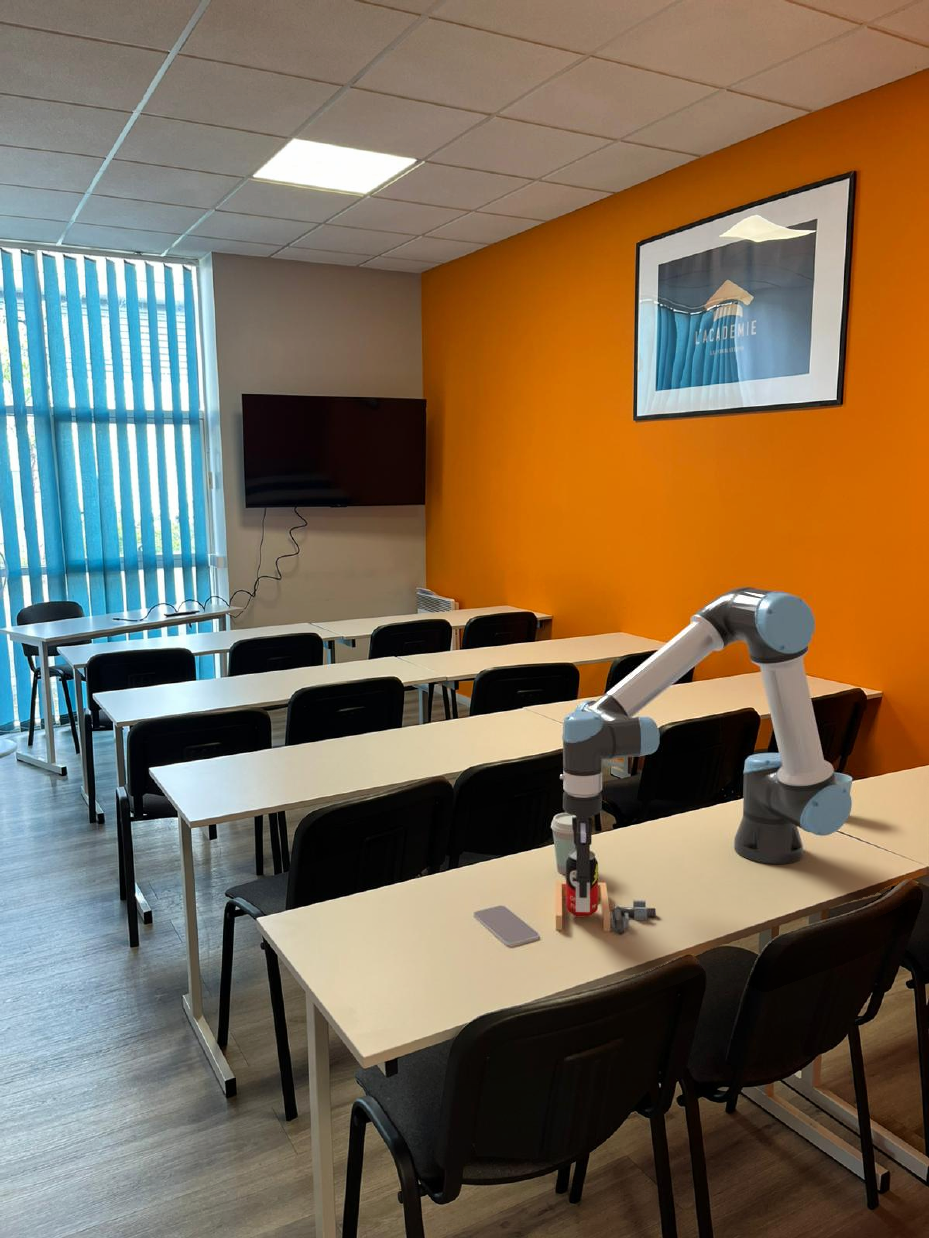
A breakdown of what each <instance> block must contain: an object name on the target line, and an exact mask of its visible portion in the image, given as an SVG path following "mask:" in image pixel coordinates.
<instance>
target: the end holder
mask: <svg viewBox="0 0 929 1238" xmlns="http://www.w3.org/2000/svg"><path fill="white" fill-rule="evenodd" d="M607 889H608V888H607V882H599V881H598V900H599V899H600V900H599V901H600V908H601V909H600V910H601V918H602V927H603V932H606V933H610V932H611V930H610V912H611V911H610V906H609V905H610V904H609V895H608V890H607ZM564 898H565V899H566V881H564V880H563V881H560V880H559V881H555V930H556V931H562V930H563V899H564Z"/></svg>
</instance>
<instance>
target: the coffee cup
mask: <svg viewBox="0 0 929 1238" xmlns="http://www.w3.org/2000/svg"><path fill="white" fill-rule="evenodd" d="M572 817H575V815H570V814H568V813H566V812H561V813H557V814H555V815H554V816H553V819H552V821H551V825H550V828H551V829H552V837H553V843H554V853H555V862H556V870H557V872H559V873H560V874H563V875H566V861H567V859H568V857H569V853H570V852H571V851H573V850H575V844H574V835H573V829H572Z"/></svg>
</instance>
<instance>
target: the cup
mask: <svg viewBox="0 0 929 1238" xmlns="http://www.w3.org/2000/svg"><path fill="white" fill-rule="evenodd" d="M834 774H835V778H836V783H837V784H838V785H841V786H843V787H844V788H845V789H846V790H847V791H848V792H849V794H850V795H851V791H852V790H851V789H852V785H853V777H852V776H850V775H848V774H845V773H840V772H834Z"/></svg>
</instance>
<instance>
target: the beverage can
mask: <svg viewBox="0 0 929 1238" xmlns="http://www.w3.org/2000/svg"><path fill="white" fill-rule="evenodd" d="M576 876H577V858H576V850H573V851H571V852H570V853H569V857H568V859H567V861H566V874H565V882H566V898H565V908H566V910H567V911H568V912H569V913H570V914H571V915H572V916H574V917H578V918H586V917H587V918H588V917H591V916H592V915H594V914H595V913H597V911H598V909H599V899H598V882H599V862H598V860H597V859H596V853H595V852H593V851H591V850H590V878H591V881H590V912H576V881H573V878H576Z"/></svg>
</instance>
